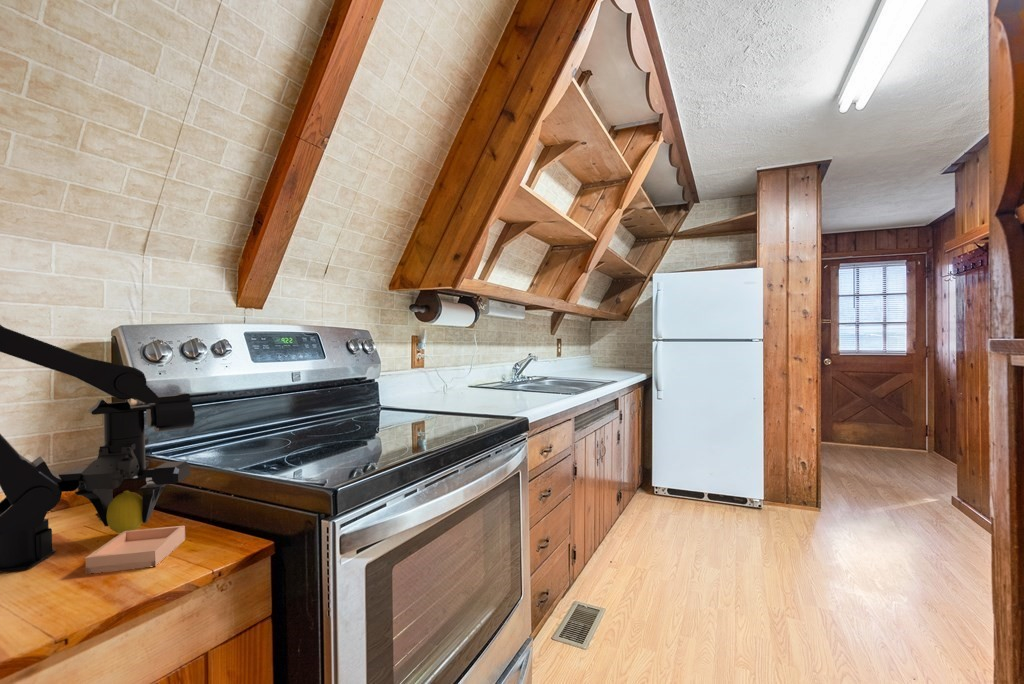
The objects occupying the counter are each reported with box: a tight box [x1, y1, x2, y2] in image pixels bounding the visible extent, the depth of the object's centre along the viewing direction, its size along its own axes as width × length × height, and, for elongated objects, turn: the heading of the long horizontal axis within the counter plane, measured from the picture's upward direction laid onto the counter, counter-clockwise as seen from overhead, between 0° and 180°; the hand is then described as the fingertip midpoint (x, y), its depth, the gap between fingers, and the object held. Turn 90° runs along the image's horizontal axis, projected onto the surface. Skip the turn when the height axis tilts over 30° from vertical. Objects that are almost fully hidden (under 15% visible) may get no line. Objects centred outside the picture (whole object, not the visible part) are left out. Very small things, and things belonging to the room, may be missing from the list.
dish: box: [84, 525, 186, 575], centre depth 79 cm, size 9×10×2 cm
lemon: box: [107, 489, 144, 534], centre depth 87 cm, size 6×6×8 cm
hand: (126, 523), depth 87 cm, fingers closed on lemon, 5 cm apart
